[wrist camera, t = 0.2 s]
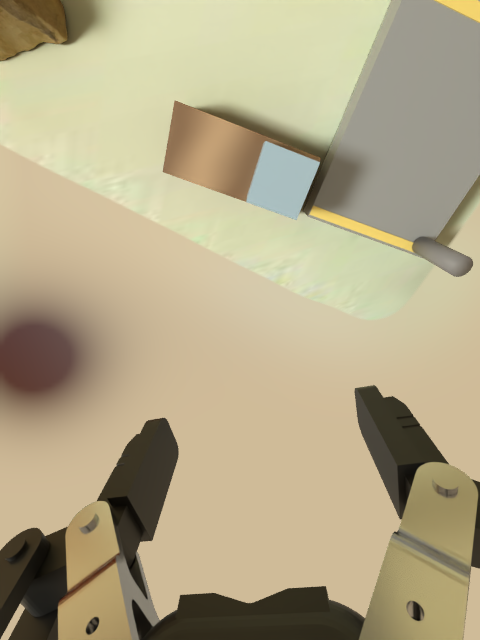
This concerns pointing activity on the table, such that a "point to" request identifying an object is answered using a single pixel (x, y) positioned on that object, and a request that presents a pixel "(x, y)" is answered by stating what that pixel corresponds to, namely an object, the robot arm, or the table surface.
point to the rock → (30, 25)
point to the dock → (409, 133)
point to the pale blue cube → (281, 180)
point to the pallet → (215, 151)
